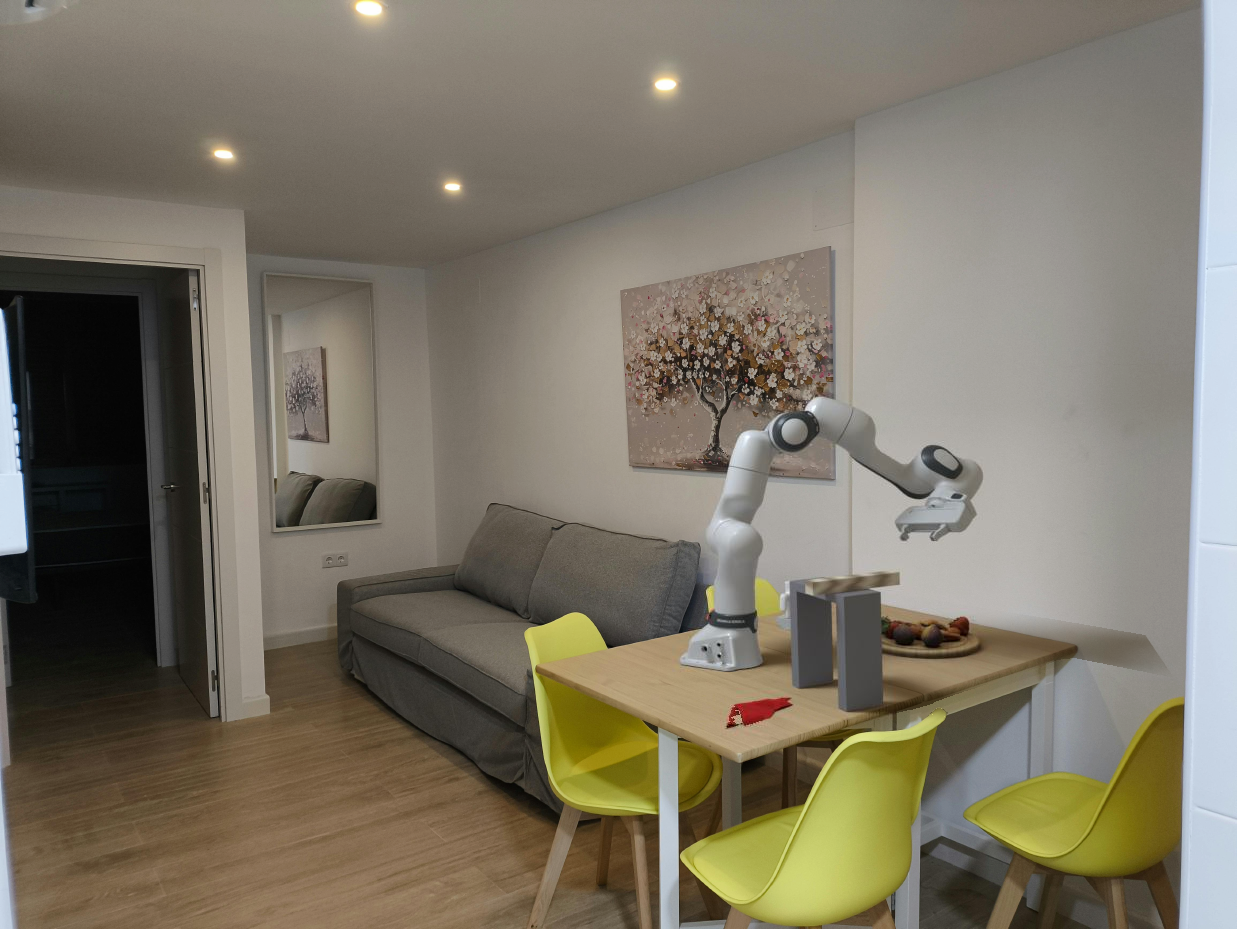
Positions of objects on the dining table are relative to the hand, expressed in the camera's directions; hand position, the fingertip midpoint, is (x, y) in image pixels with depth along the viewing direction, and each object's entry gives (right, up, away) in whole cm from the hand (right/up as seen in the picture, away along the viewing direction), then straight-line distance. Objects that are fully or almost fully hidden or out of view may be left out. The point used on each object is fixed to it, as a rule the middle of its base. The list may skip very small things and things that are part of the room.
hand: (917, 539), depth 218 cm
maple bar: (-22, -10, -20) cm, 31 cm away
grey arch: (-25, -36, -15) cm, 46 cm away
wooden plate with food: (+10, -33, +28) cm, 44 cm away
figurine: (-22, -33, +51) cm, 64 cm away
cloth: (-45, -38, -24) cm, 63 cm away
